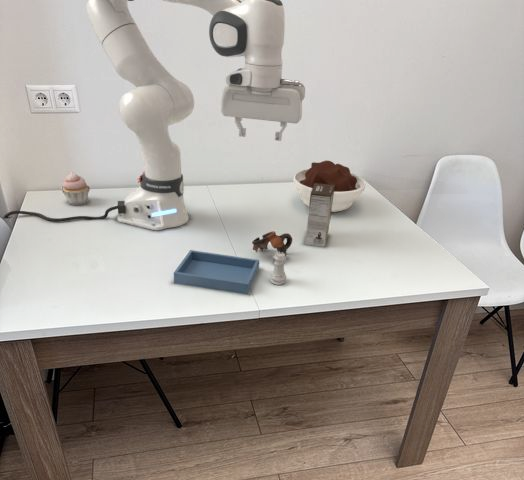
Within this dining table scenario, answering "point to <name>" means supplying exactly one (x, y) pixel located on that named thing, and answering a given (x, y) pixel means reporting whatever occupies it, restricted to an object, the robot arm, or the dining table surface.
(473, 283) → the dining table surface
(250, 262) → the tray
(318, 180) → the bowl of brown lumps
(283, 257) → the rook chess piece
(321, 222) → the coffee box
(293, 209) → the dining table surface
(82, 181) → the cupcake
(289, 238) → the broken clay pot
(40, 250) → the dining table surface
